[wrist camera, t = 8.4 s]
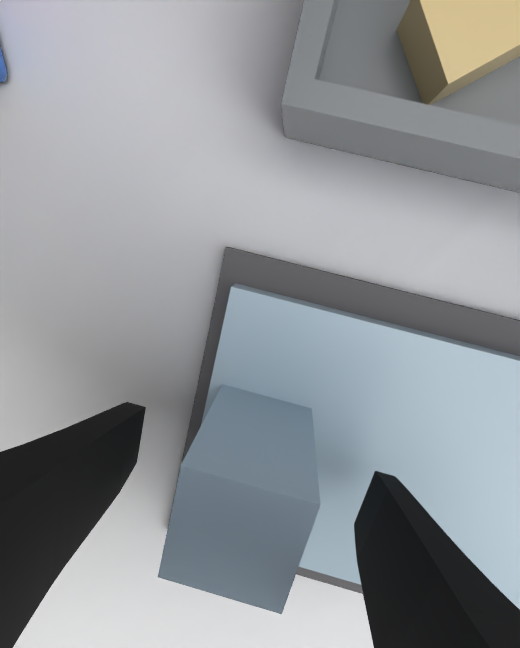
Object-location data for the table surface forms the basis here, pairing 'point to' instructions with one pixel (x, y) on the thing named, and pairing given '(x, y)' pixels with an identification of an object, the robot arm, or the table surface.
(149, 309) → the table surface
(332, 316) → the lid
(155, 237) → the table surface
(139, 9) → the table surface
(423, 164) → the tub
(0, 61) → the ink cartridge box
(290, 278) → the mat
